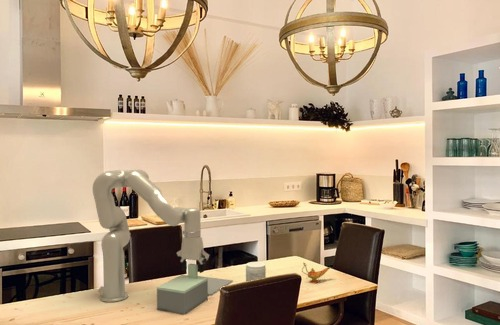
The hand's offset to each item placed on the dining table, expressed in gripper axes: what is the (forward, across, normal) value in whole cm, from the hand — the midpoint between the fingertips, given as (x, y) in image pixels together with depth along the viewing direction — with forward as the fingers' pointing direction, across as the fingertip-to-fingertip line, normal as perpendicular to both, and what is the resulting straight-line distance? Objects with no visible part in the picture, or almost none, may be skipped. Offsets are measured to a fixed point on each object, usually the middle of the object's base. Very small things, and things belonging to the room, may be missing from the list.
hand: (193, 271), depth 196 cm
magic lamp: (+13, +47, +48) cm, 68 cm away
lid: (+4, 0, -8) cm, 9 cm away
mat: (+13, -5, +18) cm, 23 cm away
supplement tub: (+13, +25, +16) cm, 33 cm away
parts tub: (+13, 0, -8) cm, 15 cm away
